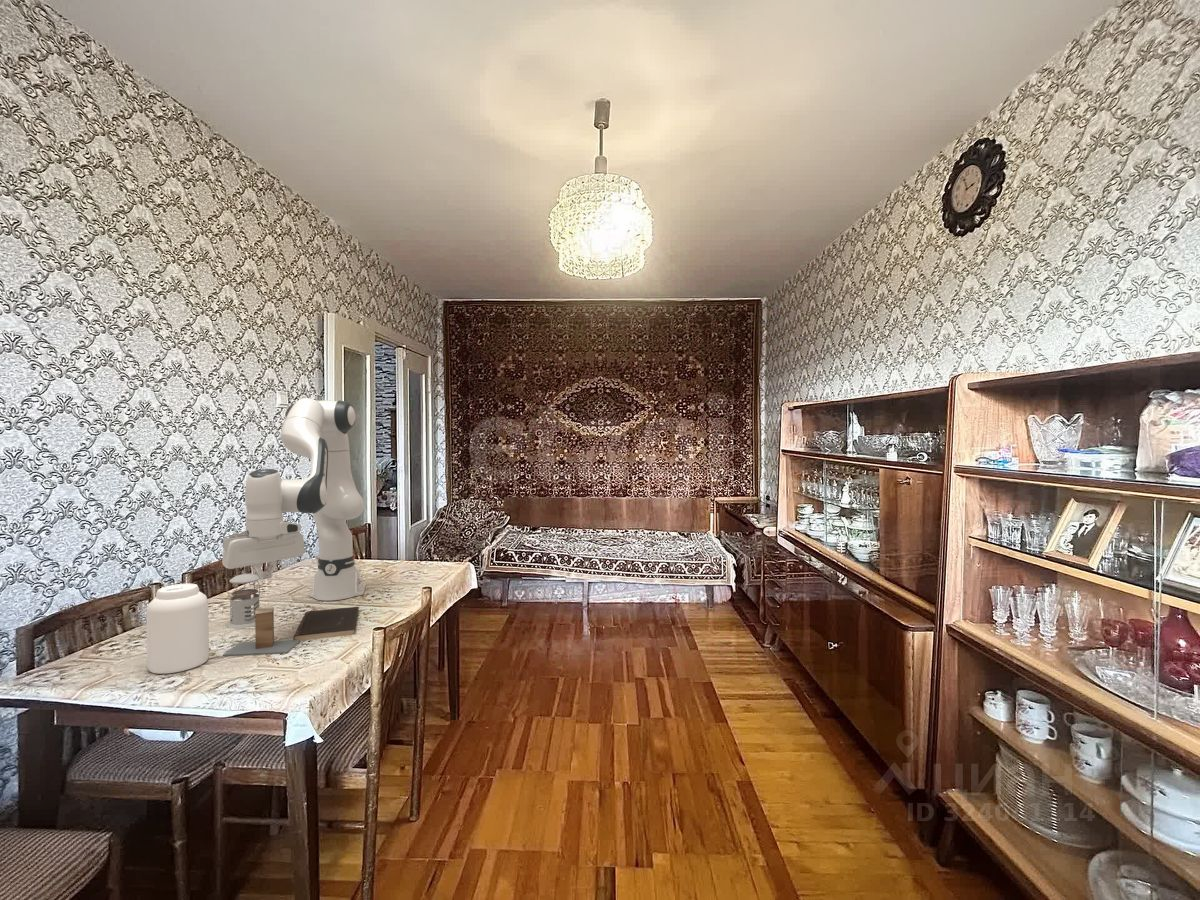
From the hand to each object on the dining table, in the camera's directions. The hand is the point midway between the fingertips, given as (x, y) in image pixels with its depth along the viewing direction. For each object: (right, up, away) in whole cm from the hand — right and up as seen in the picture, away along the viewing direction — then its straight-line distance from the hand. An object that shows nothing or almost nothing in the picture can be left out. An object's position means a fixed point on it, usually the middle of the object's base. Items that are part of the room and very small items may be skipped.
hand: (265, 578), depth 155 cm
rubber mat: (0, -19, -2) cm, 19 cm away
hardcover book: (+9, -19, +17) cm, 27 cm away
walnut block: (0, -18, 0) cm, 18 cm away
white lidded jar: (-15, -19, -13) cm, 27 cm away
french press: (-18, -19, +20) cm, 33 cm away
